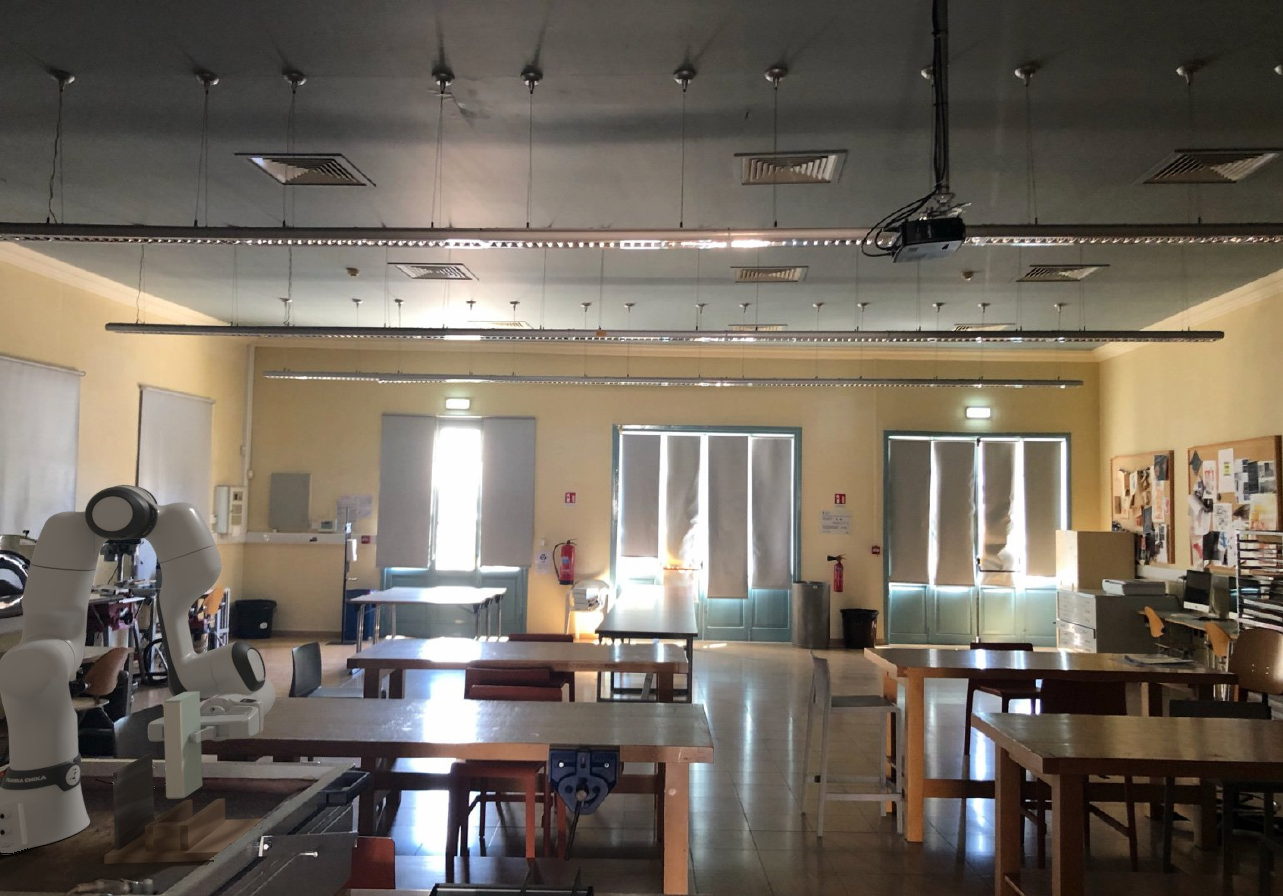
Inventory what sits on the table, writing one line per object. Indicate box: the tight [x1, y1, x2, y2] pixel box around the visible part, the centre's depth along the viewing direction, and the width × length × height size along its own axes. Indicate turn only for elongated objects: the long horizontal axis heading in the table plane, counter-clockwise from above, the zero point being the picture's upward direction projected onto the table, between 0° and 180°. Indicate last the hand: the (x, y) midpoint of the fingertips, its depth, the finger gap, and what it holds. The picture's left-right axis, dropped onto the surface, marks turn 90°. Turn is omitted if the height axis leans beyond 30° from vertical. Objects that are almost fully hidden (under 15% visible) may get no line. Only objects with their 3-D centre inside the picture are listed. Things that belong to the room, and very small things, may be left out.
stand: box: [103, 753, 264, 865], centre depth 154 cm, size 22×14×16 cm, turn 87°
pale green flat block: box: [162, 691, 203, 800], centre depth 154 cm, size 3×6×18 cm, turn 177°
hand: (180, 739), depth 153 cm, fingers closed on pale green flat block, 3 cm apart
